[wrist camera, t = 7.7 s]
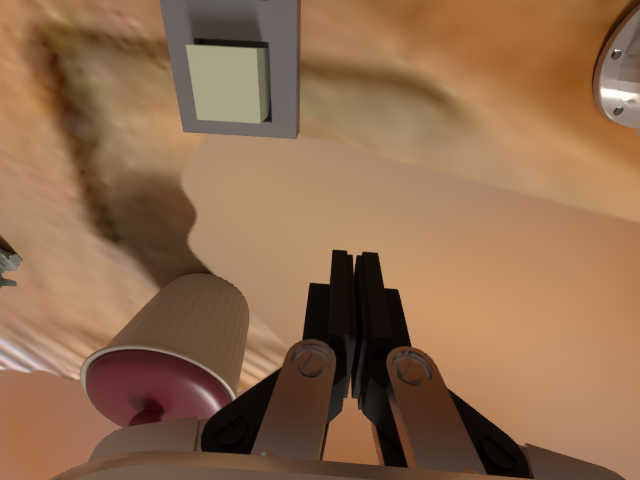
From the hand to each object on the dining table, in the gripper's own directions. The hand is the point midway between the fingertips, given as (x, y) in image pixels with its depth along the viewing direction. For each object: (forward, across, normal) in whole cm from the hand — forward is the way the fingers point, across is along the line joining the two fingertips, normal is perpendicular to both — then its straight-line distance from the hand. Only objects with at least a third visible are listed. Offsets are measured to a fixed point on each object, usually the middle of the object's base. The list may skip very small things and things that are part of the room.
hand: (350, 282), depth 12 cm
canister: (+27, +19, +28) cm, 43 cm away
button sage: (+26, +11, -4) cm, 29 cm away
